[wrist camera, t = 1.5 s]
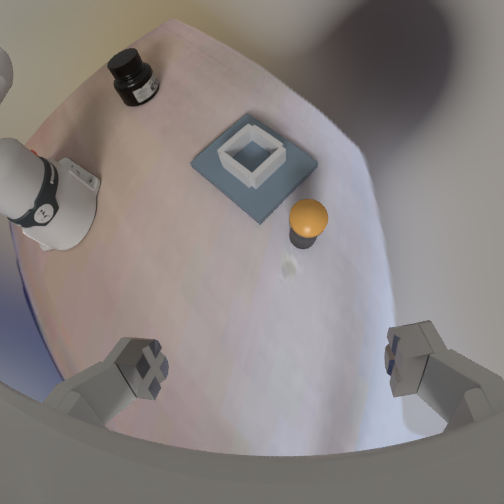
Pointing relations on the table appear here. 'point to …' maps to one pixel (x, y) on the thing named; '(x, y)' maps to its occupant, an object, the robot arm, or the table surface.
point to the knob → (307, 222)
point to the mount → (254, 167)
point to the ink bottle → (133, 77)
